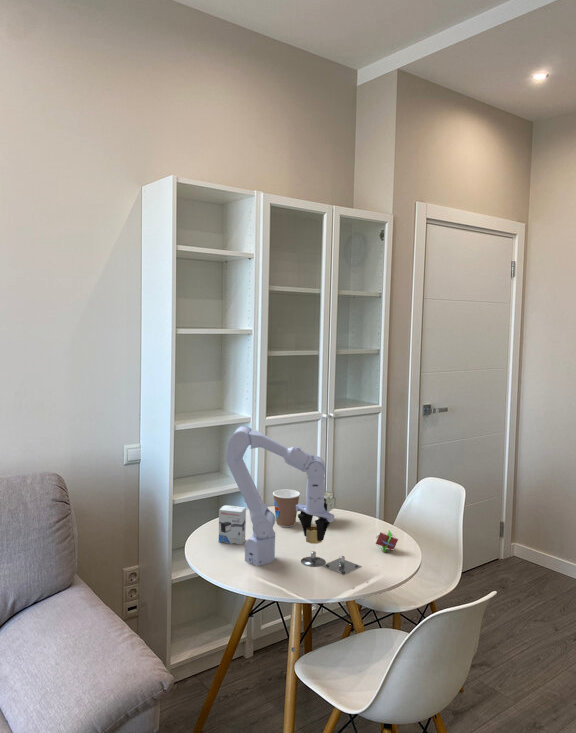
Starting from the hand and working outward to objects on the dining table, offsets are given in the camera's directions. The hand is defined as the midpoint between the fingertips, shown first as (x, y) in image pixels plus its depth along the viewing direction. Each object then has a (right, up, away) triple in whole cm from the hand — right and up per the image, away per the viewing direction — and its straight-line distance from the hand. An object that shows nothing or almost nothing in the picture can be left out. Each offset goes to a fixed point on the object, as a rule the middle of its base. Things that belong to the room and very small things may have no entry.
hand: (313, 537), depth 192 cm
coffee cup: (-9, -5, +37) cm, 38 cm away
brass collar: (0, -1, 0) cm, 1 cm away
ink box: (-28, -7, +19) cm, 34 cm away
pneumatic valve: (+6, -6, +39) cm, 40 cm away
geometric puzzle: (+25, -8, +14) cm, 30 cm away
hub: (+9, -9, -2) cm, 13 cm away
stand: (0, -9, +1) cm, 9 cm away
